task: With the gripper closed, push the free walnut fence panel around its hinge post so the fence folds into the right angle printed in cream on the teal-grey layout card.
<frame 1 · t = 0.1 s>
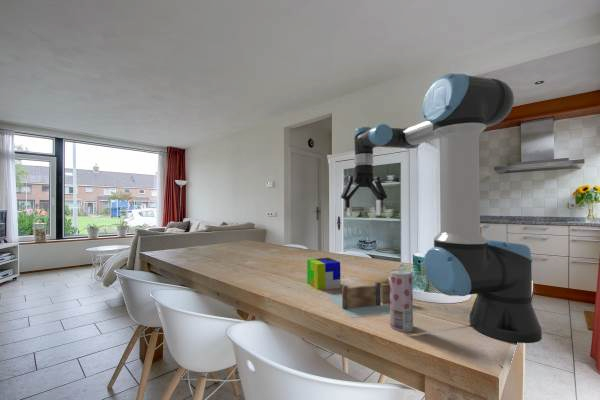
hand: (364, 215, 117), 28 cm above the table, fingers open, 13 cm apart
layout card: (369, 303, 92), on the table
fence panel: (361, 295, 88), point 4 cm above the table, hinge at 0.0°, touching layout card
beverage can: (401, 329, 74), on the table
fence fixed: (377, 304, 90), resting on layout card
puzzle toy: (323, 286, 113), on the table
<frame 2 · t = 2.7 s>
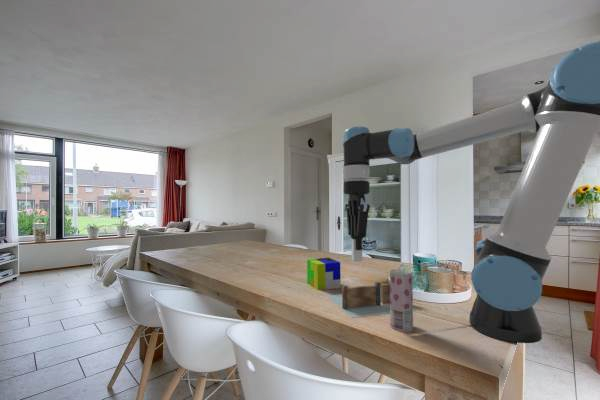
hand: (356, 260, 82), 16 cm above the table, fingers closed
nothing on the table moved.
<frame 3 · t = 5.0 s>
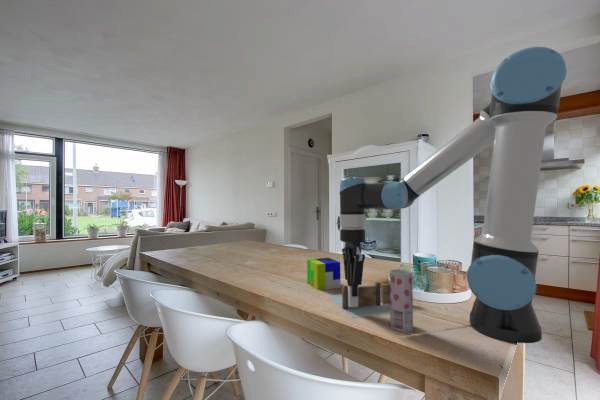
hand: (353, 306, 84), 2 cm above the table, fingers closed
fence panel: (361, 295, 88), point 4 cm above the table, hinge at 0.1°, touching gripper, layout card
everything else where it was.
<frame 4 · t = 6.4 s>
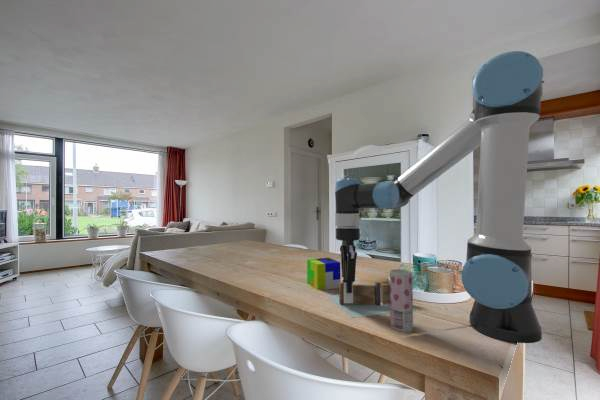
hand: (348, 302, 87), 2 cm above the table, fingers closed
fence panel: (359, 293, 90), point 4 cm above the table, hinge at 17.6°, touching gripper, layout card
everything else where it was.
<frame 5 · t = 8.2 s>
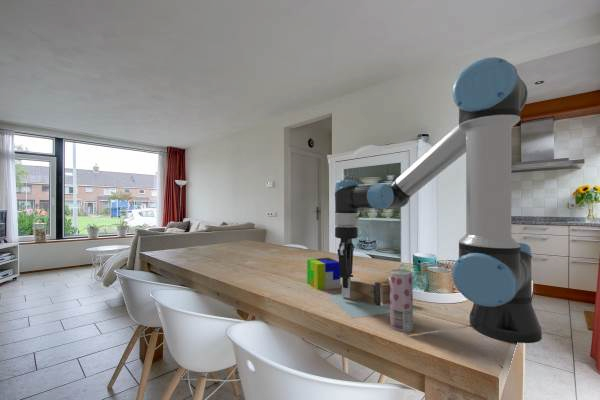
hand: (346, 297, 93), 2 cm above the table, fingers closed
fence panel: (360, 290, 93), point 4 cm above the table, hinge at 49.2°, touching gripper, layout card
everything else where it was.
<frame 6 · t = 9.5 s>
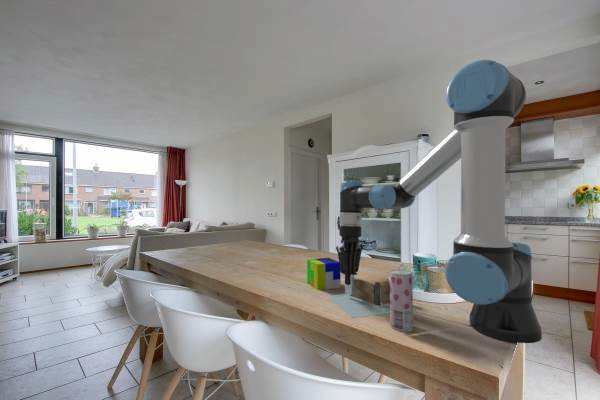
hand: (349, 293, 96), 2 cm above the table, fingers closed
fence panel: (364, 289, 95), point 4 cm above the table, hinge at 70.0°, touching gripper, layout card
everything else where it was.
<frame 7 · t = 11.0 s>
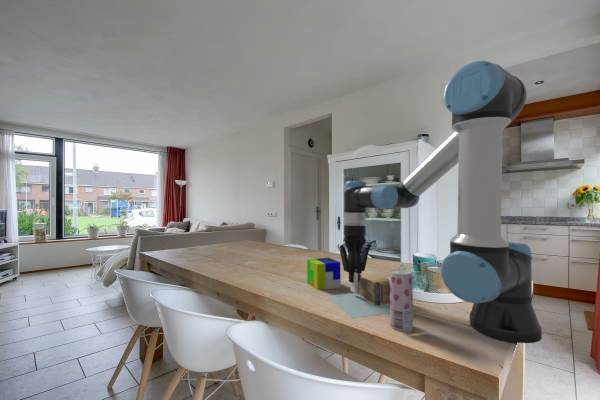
hand: (354, 291, 98), 2 cm above the table, fingers closed
fence panel: (367, 288, 95), point 4 cm above the table, hinge at 86.4°, touching gripper, layout card
everything else where it was.
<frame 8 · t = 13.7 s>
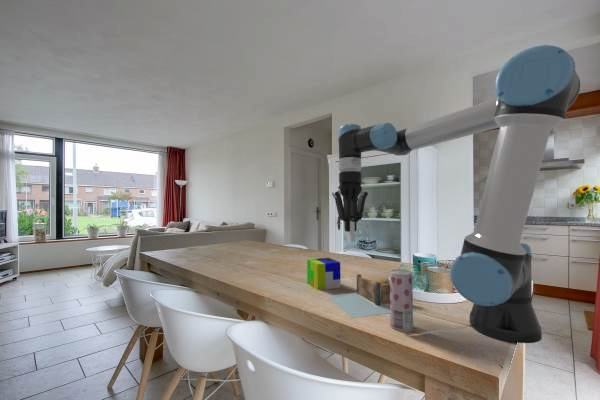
hand: (350, 241, 94), 20 cm above the table, fingers closed
fence panel: (367, 288, 95), point 4 cm above the table, hinge at 86.5°, touching layout card
everything else where it was.
at the end: fence panel at +86° (first picture: +0°) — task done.
